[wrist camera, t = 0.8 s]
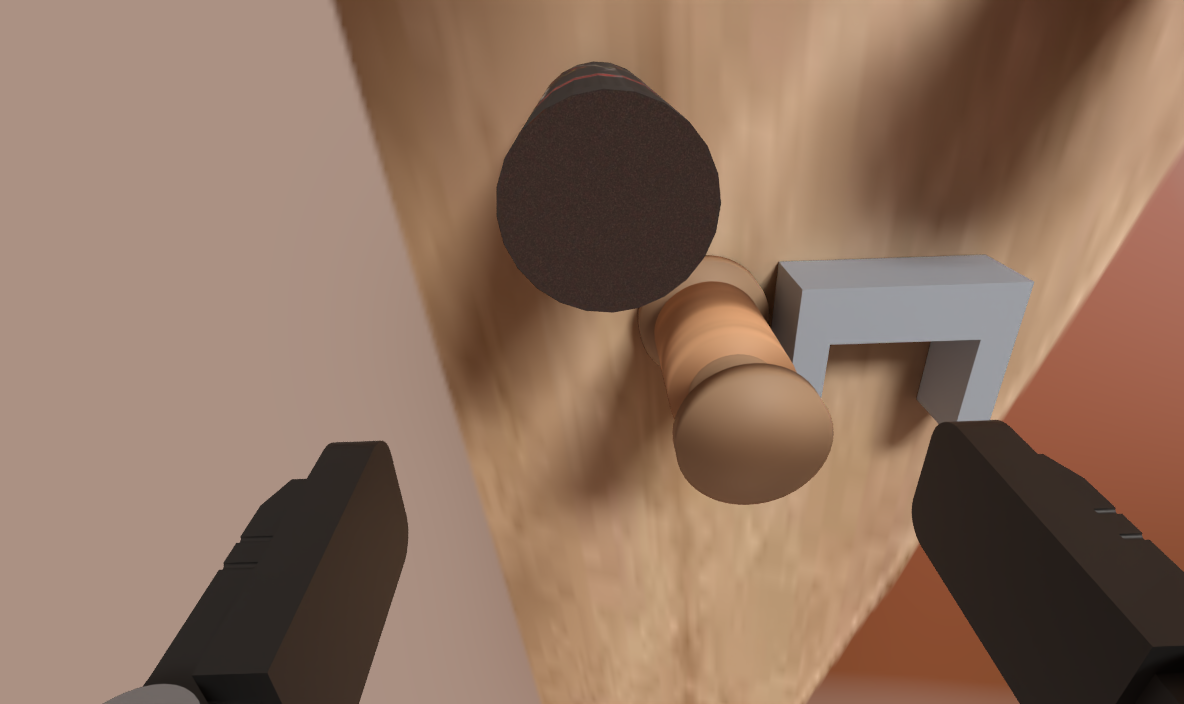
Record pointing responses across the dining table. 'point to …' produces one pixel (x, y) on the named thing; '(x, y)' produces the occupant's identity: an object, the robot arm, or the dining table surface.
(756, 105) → the dining table surface
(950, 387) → the notch board
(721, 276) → the bobbin
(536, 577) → the dining table surface
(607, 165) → the deodorant
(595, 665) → the dining table surface
